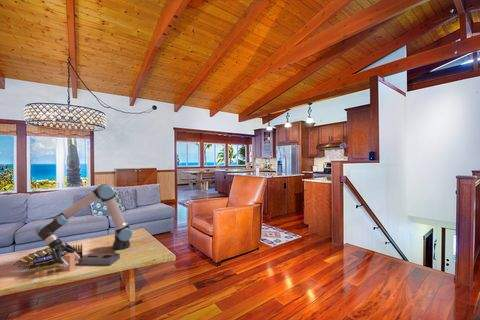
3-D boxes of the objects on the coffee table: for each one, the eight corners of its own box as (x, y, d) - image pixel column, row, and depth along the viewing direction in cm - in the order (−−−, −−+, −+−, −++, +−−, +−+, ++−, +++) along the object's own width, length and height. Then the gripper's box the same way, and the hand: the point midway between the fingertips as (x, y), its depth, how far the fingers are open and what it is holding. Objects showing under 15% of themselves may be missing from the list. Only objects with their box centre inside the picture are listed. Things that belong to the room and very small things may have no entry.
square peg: (68, 267, 170) (68, 253, 170) (74, 267, 170) (75, 253, 170) (63, 270, 165) (63, 255, 165) (69, 270, 165) (70, 255, 165)
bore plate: (89, 258, 187) (89, 253, 187) (119, 258, 186) (119, 253, 186) (78, 265, 174) (78, 259, 174) (110, 265, 173) (110, 260, 173)
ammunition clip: (82, 257, 189) (82, 243, 189) (82, 257, 187) (82, 243, 187) (66, 260, 182) (66, 246, 182) (66, 261, 180) (66, 246, 181)
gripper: (62, 239, 180) (80, 259, 180) (35, 251, 157) (56, 273, 156) (69, 233, 180) (87, 252, 180) (42, 244, 157) (63, 266, 156)
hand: (73, 262), depth 168 cm, fingers open, 11 cm apart
